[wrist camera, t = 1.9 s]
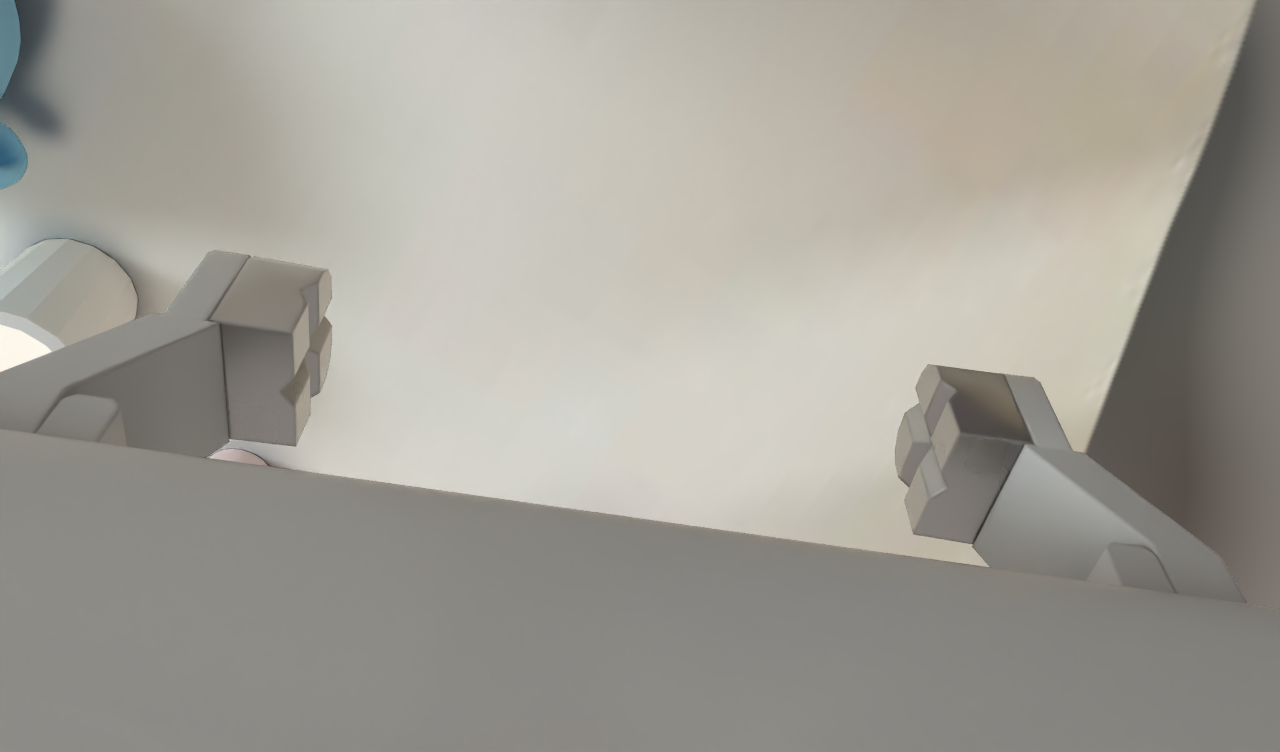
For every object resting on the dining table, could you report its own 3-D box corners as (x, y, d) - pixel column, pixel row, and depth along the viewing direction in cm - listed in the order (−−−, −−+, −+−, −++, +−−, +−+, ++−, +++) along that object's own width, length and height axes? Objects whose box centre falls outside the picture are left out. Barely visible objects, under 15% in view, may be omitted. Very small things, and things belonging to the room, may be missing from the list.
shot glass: (-11, 307, 52) (-93, 394, 46) (21, 201, 48) (-63, 281, 43) (128, 368, 54) (66, 458, 48) (169, 270, 51) (107, 356, 45)
